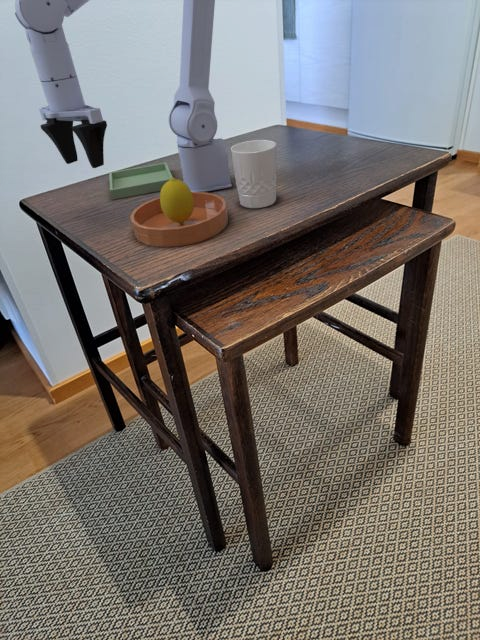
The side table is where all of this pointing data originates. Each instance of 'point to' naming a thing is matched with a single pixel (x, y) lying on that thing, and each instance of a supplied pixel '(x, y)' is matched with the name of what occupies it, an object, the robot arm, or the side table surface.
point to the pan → (167, 233)
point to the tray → (138, 180)
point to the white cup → (255, 172)
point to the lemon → (176, 200)
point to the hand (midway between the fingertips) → (84, 164)
